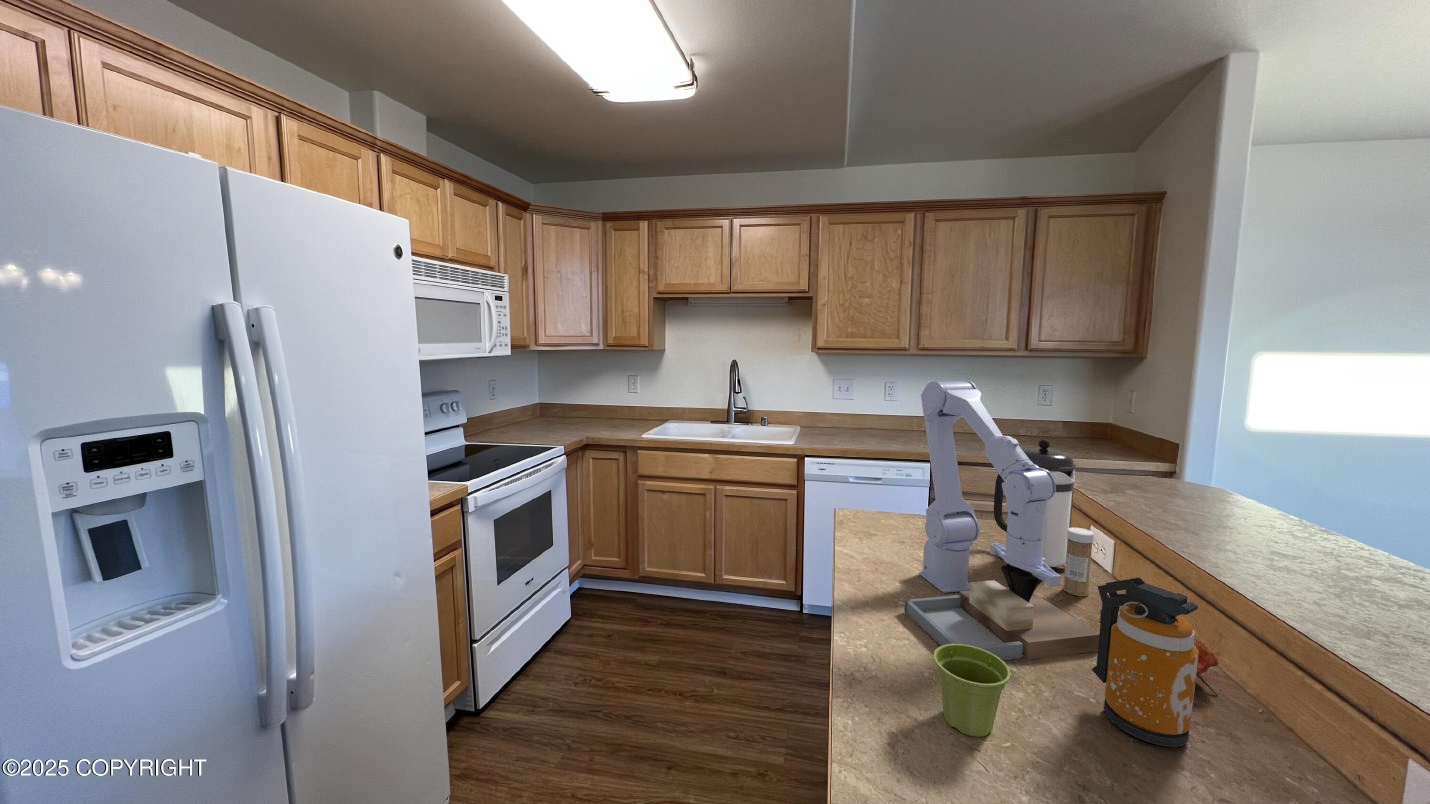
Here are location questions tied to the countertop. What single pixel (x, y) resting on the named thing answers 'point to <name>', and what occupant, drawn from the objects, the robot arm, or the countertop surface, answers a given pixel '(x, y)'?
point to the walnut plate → (1041, 630)
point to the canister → (1147, 661)
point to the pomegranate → (1205, 659)
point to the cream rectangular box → (1001, 605)
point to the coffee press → (1049, 501)
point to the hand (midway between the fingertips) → (1019, 606)
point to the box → (957, 626)
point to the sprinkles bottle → (1078, 561)
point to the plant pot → (970, 686)
